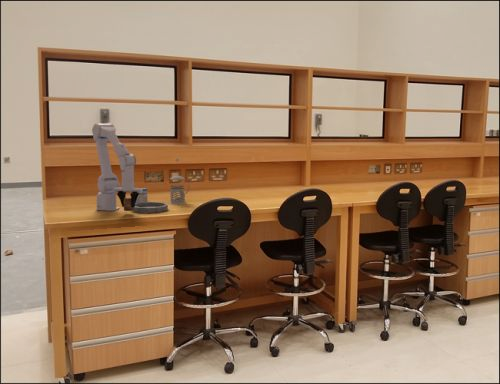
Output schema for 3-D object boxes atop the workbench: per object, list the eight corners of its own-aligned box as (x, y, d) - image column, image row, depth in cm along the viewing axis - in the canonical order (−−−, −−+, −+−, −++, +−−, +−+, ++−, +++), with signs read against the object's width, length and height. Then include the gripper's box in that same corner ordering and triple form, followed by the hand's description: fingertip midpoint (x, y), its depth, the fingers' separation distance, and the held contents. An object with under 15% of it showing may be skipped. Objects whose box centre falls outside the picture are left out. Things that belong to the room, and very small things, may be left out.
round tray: (125, 211, 247) (125, 206, 246) (140, 205, 264) (140, 201, 264) (159, 213, 243) (159, 208, 243) (172, 207, 260) (172, 202, 260)
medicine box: (134, 205, 265) (134, 189, 264) (131, 204, 269) (130, 188, 268) (147, 204, 270) (147, 188, 269) (144, 203, 274) (144, 187, 272)
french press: (167, 201, 280) (167, 157, 276) (188, 200, 283) (187, 157, 279) (169, 204, 270) (169, 159, 266) (190, 203, 273) (190, 159, 270)
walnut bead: (122, 210, 239) (121, 198, 238) (126, 209, 243) (126, 197, 242) (130, 211, 238) (130, 199, 237) (134, 209, 242) (134, 197, 242)
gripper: (110, 179, 236) (110, 207, 238) (138, 180, 233) (138, 209, 235) (117, 178, 243) (117, 204, 245) (144, 179, 240) (144, 206, 242)
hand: (128, 206), depth 240 cm, fingers closed on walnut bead, 4 cm apart
